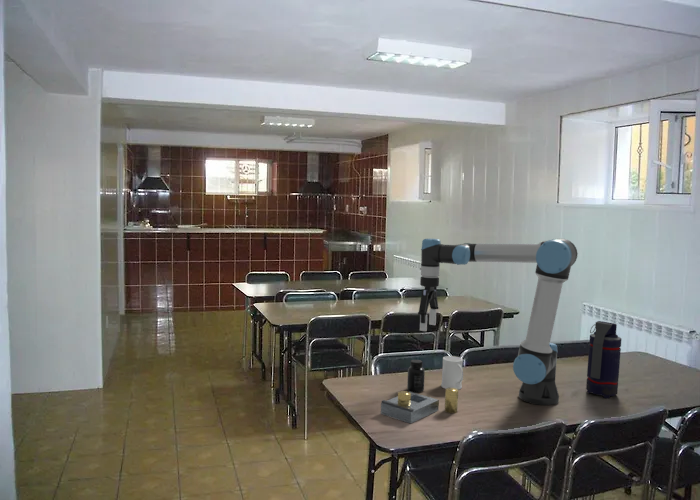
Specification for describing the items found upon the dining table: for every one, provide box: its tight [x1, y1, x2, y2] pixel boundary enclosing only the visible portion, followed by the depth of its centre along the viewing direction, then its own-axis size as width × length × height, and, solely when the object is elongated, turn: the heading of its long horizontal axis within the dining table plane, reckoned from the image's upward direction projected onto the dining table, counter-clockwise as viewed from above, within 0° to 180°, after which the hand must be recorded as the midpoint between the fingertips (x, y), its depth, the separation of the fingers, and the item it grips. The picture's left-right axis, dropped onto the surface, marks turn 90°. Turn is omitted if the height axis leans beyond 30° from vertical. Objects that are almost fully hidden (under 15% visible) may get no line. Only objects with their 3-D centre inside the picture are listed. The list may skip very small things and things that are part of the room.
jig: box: [380, 390, 440, 424], centre depth 212 cm, size 13×18×8 cm
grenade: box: [585, 320, 622, 399], centre depth 239 cm, size 14×12×30 cm
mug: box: [440, 355, 464, 391], centre depth 241 cm, size 12×8×12 cm
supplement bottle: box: [406, 359, 426, 393], centre depth 237 cm, size 7×7×12 cm
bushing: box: [444, 388, 459, 414], centre depth 215 cm, size 5×5×8 cm
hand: (427, 327), depth 240 cm, fingers open, 13 cm apart
